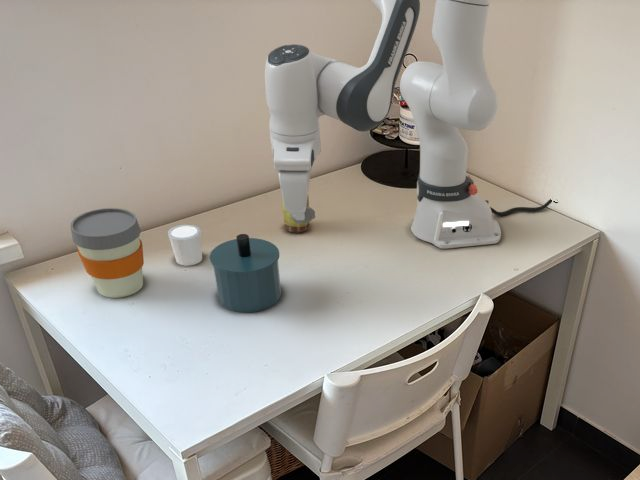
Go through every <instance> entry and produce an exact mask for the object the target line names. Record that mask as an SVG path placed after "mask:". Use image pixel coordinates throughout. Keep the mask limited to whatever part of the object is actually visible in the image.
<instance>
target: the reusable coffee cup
mask: <svg viewBox="0 0 640 480" xmlns="http://www.w3.org/2000/svg"><path fill="white" fill-rule="evenodd" d="M69 226H70V232H71V238H72V239H71V240H72V242H73V243H74V244H75V245H76V247H77V254H78V257H79V258H80V261H81V262H82V265H83V267H84V269H85V271H86V273H87V274H88V275H89V276H90V277H91V279H92V281H93V283H94V286H95V288H96V290H97V292H98V294H99V295H101V296H103V297H105V298H112V299H114V298H115V299H116V298H117V299H119V298H125V297H129V296H132V295H134V294H136V293H137V292H139V291H140V290H141V289H142V288H143V286H144V276H143V266H144V263H145V261H144V247H143V242H142V240H141V238H140V235H141V227H140V224H139V221H138V218H137V216H136V214H135V213H134V212H132V211H130V210H128V209H124V208H119V207H118V208H117V207H104V208H97V209H93V210H89V211H86V212H84V213H81V214H79V215H78V216H76V217H75V218H73V220H72V221H71V222H70V225H69Z"/></svg>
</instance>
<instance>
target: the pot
mask: <svg viewBox="0 0 640 480" xmlns="http://www.w3.org/2000/svg"><path fill="white" fill-rule="evenodd" d="M213 273H214V276H215V284H216V290H217V297H218V300H219V303H220V304H221V305H222V306H223V307H224V308H225V309H227V310H230V311H232V312H236V313H246V314H247V313H256V312H261V311H265V310H267V309H269V308H271V307H274V306H275V305H276V304H277V303H278V302H279V300H280V299H281V296H282V291H281V290H282V288H281V278H280V277H281V276H280V268H279V260H278V261H277V262H276V263H275V264H274V265H273V266H271V267H269V268H267V269H265V270H263V271H259V272H255V273H249V274H232V273H227V272H223V271H221V270H219V269H217V268H215V267H214V266H213Z"/></svg>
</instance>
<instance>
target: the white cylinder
mask: <svg viewBox="0 0 640 480" xmlns="http://www.w3.org/2000/svg"><path fill="white" fill-rule="evenodd" d="M167 235H168V239H169V242H170V246H171V248H172V249H171V250H172V252H173V255H174V258H175V261H176V263H177V264H178V265H181V266H186V267H189V266H194V265H195V266H196V265H197V264H199V263H201V262H202V260H203V247H202V246H203V245H202V232H201V228H200V227H198V226H197V225H193V224H179V225H175V226H173V227H171V228H169V230H168V231H167Z"/></svg>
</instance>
